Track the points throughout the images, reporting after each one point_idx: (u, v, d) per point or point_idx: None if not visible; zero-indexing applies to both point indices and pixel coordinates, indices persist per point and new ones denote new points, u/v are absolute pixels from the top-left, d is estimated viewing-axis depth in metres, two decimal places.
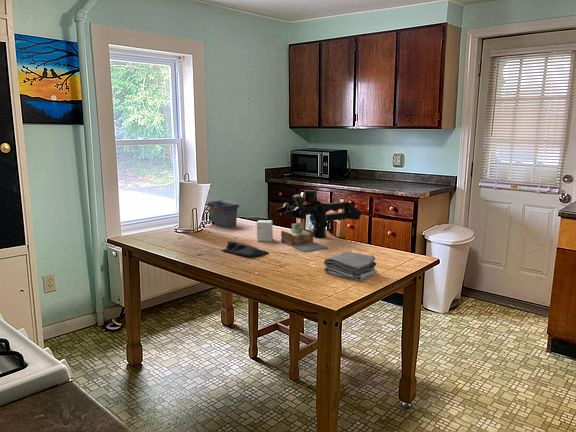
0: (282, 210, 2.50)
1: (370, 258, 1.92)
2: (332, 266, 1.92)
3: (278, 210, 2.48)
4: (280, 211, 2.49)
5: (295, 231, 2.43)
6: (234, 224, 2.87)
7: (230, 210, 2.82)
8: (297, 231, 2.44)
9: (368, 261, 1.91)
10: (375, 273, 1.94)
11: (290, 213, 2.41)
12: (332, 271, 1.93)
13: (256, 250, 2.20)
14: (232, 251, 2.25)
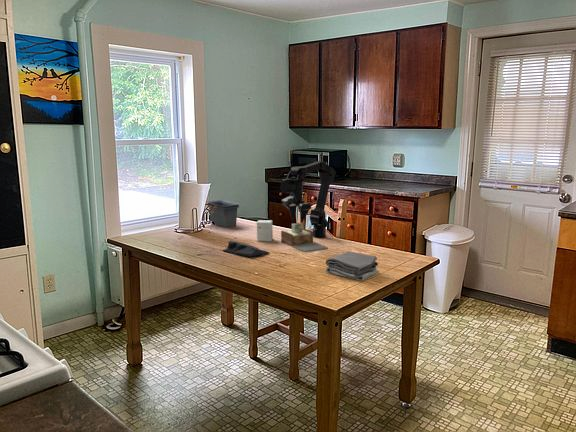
0: (293, 211, 2.48)
1: (372, 258, 1.92)
2: (334, 266, 1.92)
3: (292, 216, 2.48)
4: (293, 213, 2.48)
5: (295, 231, 2.43)
6: (234, 224, 2.87)
7: (230, 210, 2.82)
8: (297, 231, 2.44)
9: (370, 261, 1.91)
10: None
11: (302, 216, 2.39)
12: (334, 271, 1.93)
13: (257, 250, 2.20)
14: (233, 251, 2.25)
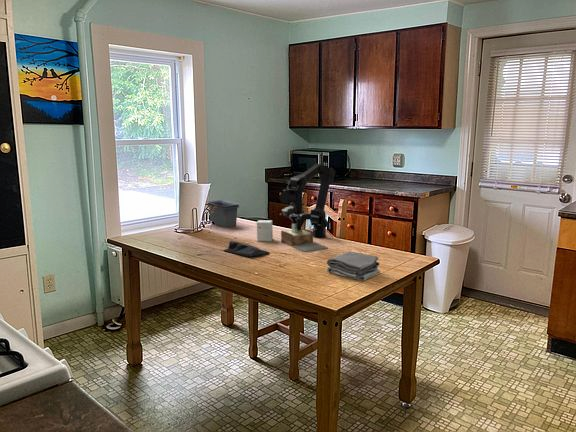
0: (295, 221, 2.46)
1: (373, 258, 1.92)
2: (335, 266, 1.92)
3: None
4: None
5: (295, 231, 2.43)
6: (234, 224, 2.87)
7: (230, 210, 2.82)
8: (297, 231, 2.44)
9: (371, 261, 1.91)
10: (378, 273, 1.94)
11: (299, 225, 2.42)
12: (335, 271, 1.93)
13: (257, 250, 2.20)
14: (233, 251, 2.25)
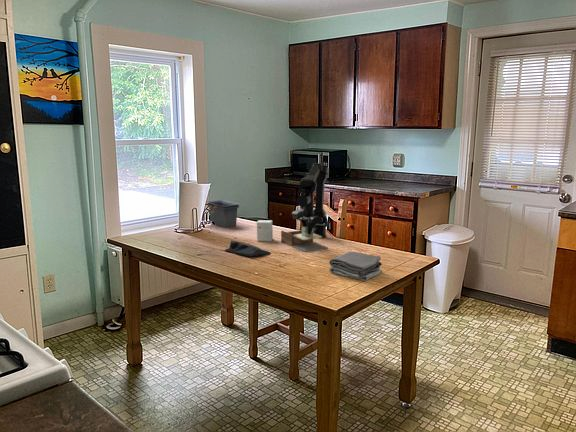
0: (306, 225, 2.38)
1: (375, 258, 1.92)
2: (337, 266, 1.92)
3: None
4: None
5: (305, 234, 2.34)
6: (234, 224, 2.87)
7: (230, 210, 2.82)
8: (308, 234, 2.35)
9: (373, 261, 1.91)
10: (380, 273, 1.94)
11: (310, 228, 2.34)
12: (337, 271, 1.93)
13: (258, 250, 2.20)
14: (234, 251, 2.25)
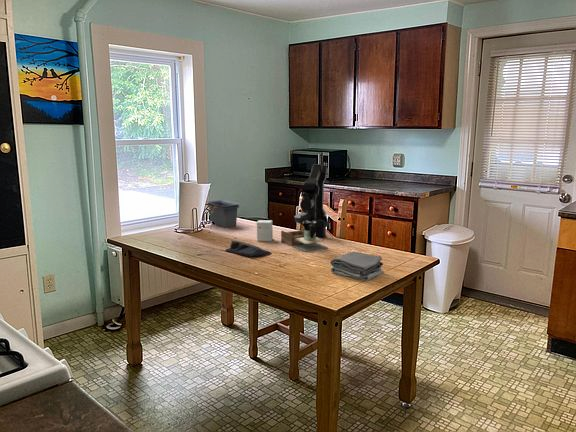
0: (308, 228, 2.36)
1: (377, 258, 1.92)
2: (339, 266, 1.92)
3: None
4: None
5: (308, 238, 2.33)
6: (234, 224, 2.87)
7: (230, 210, 2.82)
8: (310, 238, 2.33)
9: (375, 261, 1.91)
10: None
11: (312, 232, 2.32)
12: (339, 271, 1.93)
13: (258, 250, 2.20)
14: (235, 251, 2.25)
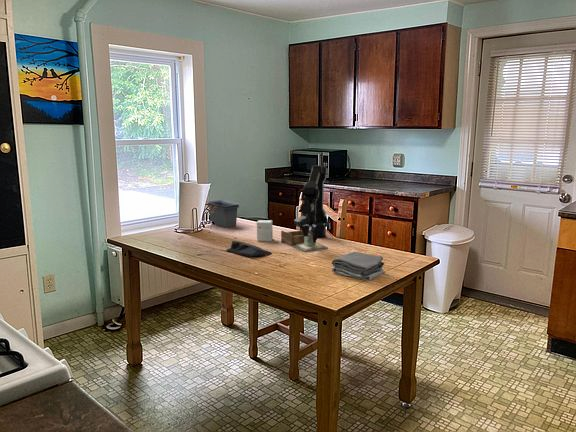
0: (306, 231, 2.38)
1: (378, 258, 1.92)
2: (340, 266, 1.92)
3: None
4: (306, 234, 2.38)
5: (308, 244, 2.33)
6: (234, 224, 2.87)
7: (230, 210, 2.82)
8: (310, 244, 2.34)
9: (376, 261, 1.91)
10: None
11: (315, 237, 2.31)
12: (340, 271, 1.92)
13: (259, 250, 2.20)
14: (235, 251, 2.25)
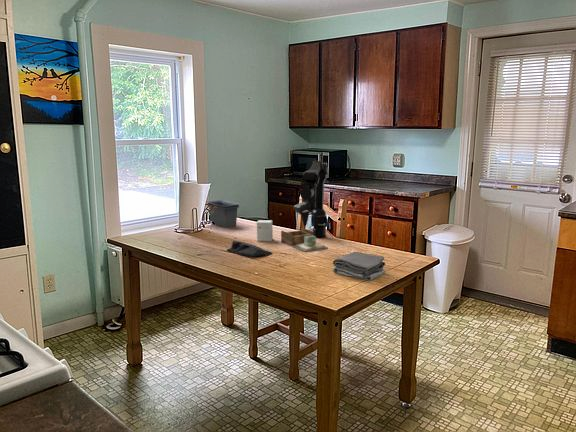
0: (305, 217, 2.37)
1: (379, 258, 1.92)
2: (341, 266, 1.92)
3: (305, 223, 2.37)
4: (306, 220, 2.37)
5: (308, 244, 2.33)
6: (234, 224, 2.87)
7: (230, 210, 2.82)
8: (310, 244, 2.34)
9: (377, 261, 1.91)
10: None
11: (316, 223, 2.29)
12: (341, 271, 1.93)
13: (259, 250, 2.20)
14: (236, 251, 2.25)
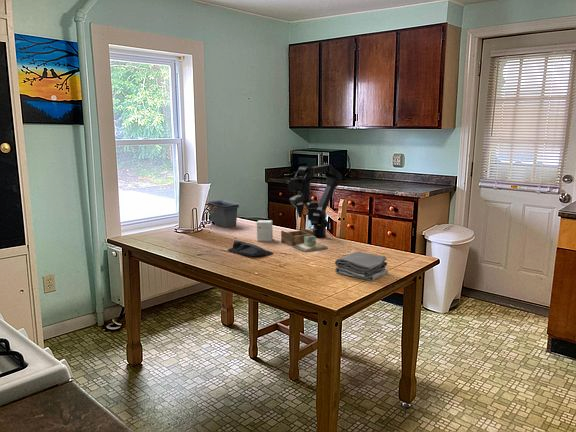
0: (300, 210, 2.52)
1: (381, 258, 1.92)
2: (343, 266, 1.92)
3: (300, 214, 2.52)
4: (301, 212, 2.53)
5: (308, 244, 2.33)
6: (234, 224, 2.87)
7: (230, 210, 2.82)
8: (310, 244, 2.34)
9: (379, 261, 1.91)
10: (386, 273, 1.94)
11: (310, 215, 2.44)
12: (343, 271, 1.92)
13: (260, 250, 2.20)
14: (237, 250, 2.26)
